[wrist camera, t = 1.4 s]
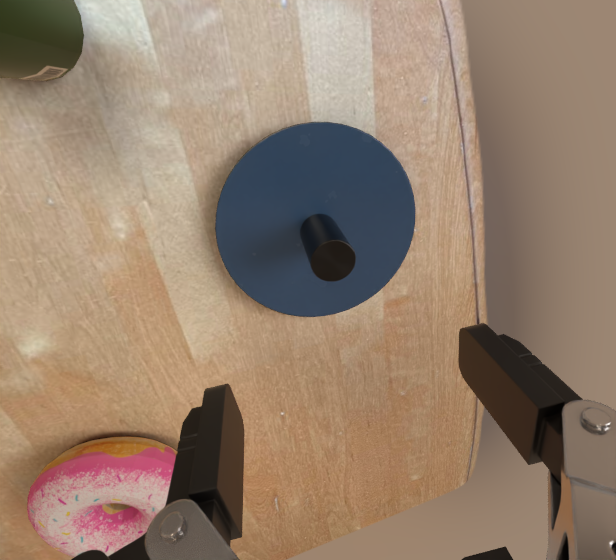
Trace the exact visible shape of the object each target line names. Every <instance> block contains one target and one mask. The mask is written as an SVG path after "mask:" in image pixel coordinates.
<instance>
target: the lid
mask: <svg viewBox="0 0 616 560" xmlns="http://www.w3.org/2000/svg"><path fill="white" fill-rule="evenodd" d="M414 226H415V202H414V195H413V191H412V188H411V184H410V182H409V179H408V177H407V174H406V172H405V171H404V169H403V167H402V165H401V164H400V162H399V161H398V160H397V158H396V157H395V156H394V155H393V153H392V152H391V151H390V150H389V149H388V148H387V147H386V146H384V145H383V144H382V143H381V142H380V141H378V140H377V139H375V138H374V137H372V136H371V135H369V134H367V133H365V132H363V131H361V130H359V129H356V128H353V127H350V126H347V125H343V124H338V123H331V122H309V123H302V124H297V125H293V126H290V127H287V128H283V129H281V130H279V131H277V132H275V133H272V134H270V135H269V136H267V137H266V138H264V139H262V140H261V141H259V142H258V143H257V144H255V145H254V146H253V147H252V148H251V149H250V150H248V151H247V152H246V153H245V154H244V155H243V157H242V158H241V159H240V160H239V161H238V162H237V163H236V165H235V166H234V168H233V169H232V171H231V172H230V174H229V176H228V178H227V180H226V182H225V184H224V186H223V188H222V191H221V195H220V198H219V201H218V206H217V212H216V226H215V230H216V239H217V245H218V248H219V252H220V255H221V258H222V260H223V263H224V265H225V267H226V269H227V270H228V272H229V274H230V276H231V277H232V278H233V280H234V281H235V282H236V283H237V285H238V286H239V287H240V288H241V289H242V290H243V291H244V292H245V293H246V294H247V295H249V296H250V297H251V298H253V299H254V300H255V301H257V302H258V303H260V304H262V305H264V306H266V307H268V308H270V309H272V310H275V311H277V312H281V313H284V314H288V315H294V316H302V317H317V316H326V315H331V314H336V313H339V312H342V311H346V310H348V309H350V308H353V307H355V306H357V305H359V304H361V303H362V302H364V301H366V300H368V299H369V298H370V297H372V296H373V295H375V294H376V293H377V292H378V291H379V290H380V289H382V288H383V287H384V286H385V285H386V284H387V283H388V282H389V280H390V279H391V278H392V277H393V276H394V274H395V273H396V272H397V270H398V269H399V267H400V266H401V264H402V262H403V260H404V259H405V257H406V254H407V252H408V249H409V247H410V244H411V241H412V237H413V233H414Z"/></svg>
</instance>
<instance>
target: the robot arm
mask: <svg viewBox="0 0 616 560" xmlns="http://www.w3.org/2000/svg"><path fill="white" fill-rule="evenodd" d="M459 368H460V371H461V374H462V376H463V378H464V380H465V381H466V382H467V384H468V385H469V386H470V388H471V389H472V390H473V392H474V393H475V394H476V396H477V397H478V398H479V400H480V401H481V402H482V404H483V405H484V406H485V408H486V409H487V410H488V412H489V413H490V414H491V416H492V417H493V418H494V420H495V421H496V422H497V424H498V425H499V426H500V428H501V429H502V430H503V432H504V433H505V434H506V436H507V437H508V438H509V439H510V441H511V442H512V444H513V445H514V446H515V447H516V449H517V450H518V452H519V453H520V454H521V456H522V457H523V458H524V460H525V461H526V462H527V464H528V465H530V464H534V463H538V462H542V461H543V462H544V464H545V465H546V466H547V467H548V469H549V472H548V550H547V558H546V560H616V411H615V410H614V409H612V408H610V407H608V406H606V405H604V404H601V403H598V402H594V401H590V400H583V399H582V398H580V397H579V396H578V395H577V394H576V393H575V392H574V391H573V390H572V389H571V388H570V387H568V386H567V385H566V384H565V383H564V382H563V381H562V380H561V379H560V378H559V377H558V376H556V375H555V374H554V373H553V372H552V371H551V370H550V369H549V368H547V366H545V365H544V364H542V362H541V361H540V360H539V359H538V358H537V357H536V356H534V355H532V353H531V352H530V351H529V350H528V349H527V348H526V347H525V346H524V345H523V344H521V343H520V342H519V341H517V340H515V339H513V338H510V337H508V336H506V335H504V334H503V335H499V336H498V335H496V333H495V332H494V331H493V330H491V329H490V328H489V327H488V326H487V325H486V324H484V323H481V324H477V325H473V326H469V327H465V328H461V329H460V332H459ZM177 452H178V453H177V454H176V458H175V463H174V468H173V472H172V477H171V482H170V487H169V491H168V496H167V501H166V504H165V507H164V508H163V509H161V510H160V511H159V512H158V513H157V515H156V516H155V517H154V518H153V520H152V521H151V523H150V525H149V527H148V529H147V532H146V533H145V534H143V535H142V536H141V537H139V538H138V539H136V540H135V541H133V542H131V543H130V544H128V545H126V546H124V547H123V548H121V549H119V550H118V551H116V552H114V553H113V554H111V555H109V556H107V555H106V554H105V553H104V552H102V551H100V550H89V551H86V552H83V553H81V554H79V555H77V556H76V557H74V558H73V559H72V560H239V559H238V557H237V556H236V555H235V553H234V552H233V551H232V549H231V548H230V540H233V539H237V538H241V537H242V514H243V469H244V425H243V419H242V416H241V413H240V410H239V408H238V405H237V403H236V400H235V397H234V395H233V392H232V390H231V387H230V385H229V384H224V385H220V386H216V387H211V388H207V389H205V391H204V397H203V403H202V406H201V407H197V408H193V409H191V411H190V413H189V414H188V416H187V417H186V419H185V421H184V422H183V425H182V430H181V435H180V441H179V444H178V449H177ZM462 560H513V559H512V557H511V555H510V554H509V552H508V550H507V548H506V547H502V548H498V549H495V550H491V551H487V552H483V553H479V554H476V555H472V556H468V557H465V558H463V559H462Z"/></svg>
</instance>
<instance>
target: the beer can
mask: <svg viewBox="0 0 616 560" xmlns="http://www.w3.org/2000/svg"><path fill="white" fill-rule="evenodd" d="M83 38H84V34H83V28H82V22H81V16H80V13H79V11H78V9H77V6H76V4H75V2H74V0H0V78H13V79H26V80H38V81H48V80H52V79H56V78H60V77H62V76H64V75H65V74H66V73H67V72H69V71H70V70H71V69H72V68H74V66H75V64H76V62H77V61H78V59H79V57H80V55H81V52H82V45H83Z"/></svg>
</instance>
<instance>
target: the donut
mask: <svg viewBox="0 0 616 560" xmlns="http://www.w3.org/2000/svg"><path fill="white" fill-rule="evenodd" d="M177 453H178V452H177V451H176V450H175V449H173V448H172V447H170V446H168V445H165V444H163V443H160V442H158V441H156V440H152V439H147V438H142V437H129V436H127V437H111V438H104V439H98V440H92V441H89V442H86V443H82V444H79V445H77V446H75V447H73V448H71V449H69V450H67V451H65V452H64V453H62V454H61V455H60V456H58V457H57V458H56V459H54V460H53V461H52V462H51V463H49V464H48V465H47V466H45V467H44V469H43V470H42V471H41V472H40V474H39V475H38V477H37V478H36V480H35V481H34V483H33V485H32V486H31V488H30V492H29V495H28V506H27V510H28V517H29V520H30V522H31V524H32V525H33V527H34V529H35V530H36V531H37V533H38V534H39V535H40V536H41V537H42V538H43V539H44V540H45V541H46V542H47V543H48V544H49V545H50V546H52V547H53V548H55V549H57V550H58V551H60V552H62V553H65V554H67V555H69V556H72V557H76V556H77V555H79V554H81V553H83V552H86V551H89V550H100V551H102V552H104V553H105V554H106V555H107V556H109V555H111V554H113V553H114V552H116V551H118V550H119V549H121V548H123V547H124V546H126V545H128V544H130V543H131V542H133V541H135V540H136V539H138V538H139V537H141V536H142V535H143V534H145V533H146V532H147V529H148V527H149V525H150V523H151V521H152V520H153V518H154V517H155V516H156V515H157V513H158V512H159V511H160V510H161V509H163V508H164V507H165V504H166V501H167V496H168V491H169V487H170V482H171V477H172V472H173V468H174V463H175V458H176V454H177Z"/></svg>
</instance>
